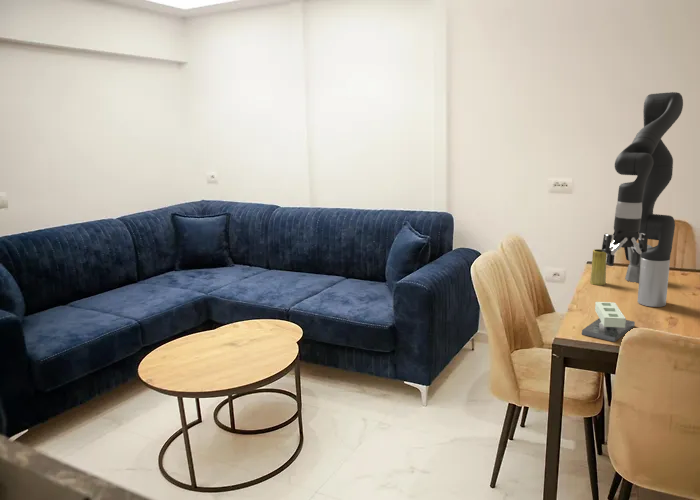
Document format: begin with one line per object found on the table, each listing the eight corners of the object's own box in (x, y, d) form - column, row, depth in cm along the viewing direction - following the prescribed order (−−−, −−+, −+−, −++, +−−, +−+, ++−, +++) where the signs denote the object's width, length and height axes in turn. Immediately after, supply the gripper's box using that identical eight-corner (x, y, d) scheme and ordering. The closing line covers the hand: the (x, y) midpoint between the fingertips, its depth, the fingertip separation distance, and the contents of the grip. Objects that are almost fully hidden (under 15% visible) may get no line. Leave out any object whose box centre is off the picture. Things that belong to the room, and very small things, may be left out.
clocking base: (603, 319, 182) (604, 302, 181) (634, 325, 175) (635, 308, 174) (581, 334, 170) (582, 316, 169) (614, 342, 163) (615, 323, 162)
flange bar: (595, 310, 180) (595, 301, 179) (614, 310, 178) (614, 302, 178) (603, 326, 165) (604, 317, 164) (625, 327, 163) (625, 318, 163)
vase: (607, 285, 221) (609, 252, 218) (591, 285, 222) (593, 252, 219) (603, 281, 226) (605, 249, 223) (588, 281, 228) (590, 248, 225)
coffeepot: (658, 283, 221) (662, 240, 217) (639, 285, 219) (642, 242, 215) (631, 274, 236) (634, 234, 232) (613, 276, 234) (615, 236, 230)
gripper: (614, 218, 165) (609, 268, 168) (656, 217, 166) (650, 267, 170) (600, 214, 172) (595, 263, 175) (640, 214, 174) (635, 262, 177)
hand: (622, 265), depth 173 cm, fingers open, 8 cm apart
